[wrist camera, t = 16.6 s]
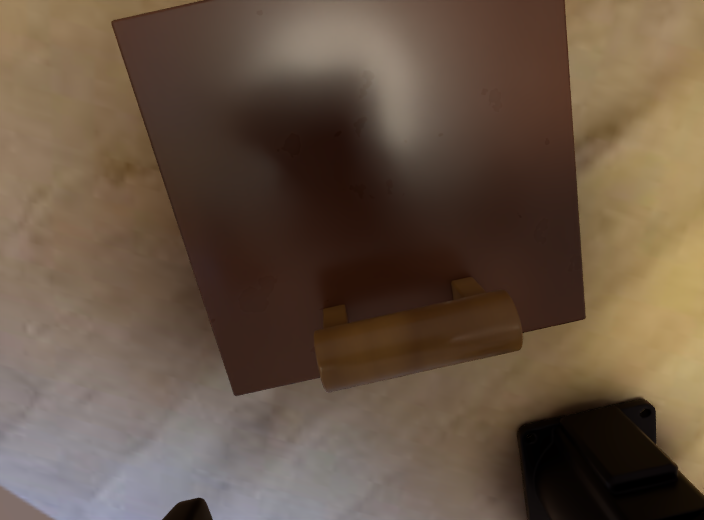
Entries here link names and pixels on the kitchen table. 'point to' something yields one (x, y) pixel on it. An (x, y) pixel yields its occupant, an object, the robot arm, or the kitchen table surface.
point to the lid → (365, 178)
